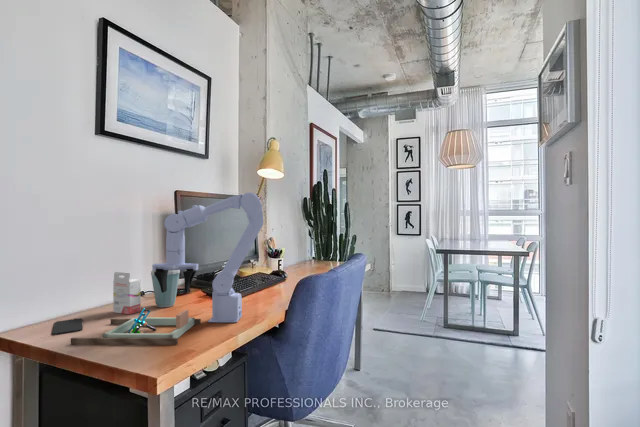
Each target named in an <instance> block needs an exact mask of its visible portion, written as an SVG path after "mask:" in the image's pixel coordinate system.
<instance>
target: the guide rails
mask: <svg viewBox="0 0 640 427" xmlns="http://www.w3.org/2000/svg"><path fill="white" fill-rule="evenodd" d="M131 319H132V318H111V319H110V325H121V324H123V323H125V322H127V321H129V320H131ZM201 321H202V320H201V318H194V325H193V326H195V325H196V326H199V325H202V322H201ZM178 340H179V338H103V337H71V338H70V345H76V346H77V345H79V346H80V345H81V346H82V345H93V346H95V345H99V346H100V345H103V346H105V345H108V346H109V345H110V346H112V345H113V346H114V345H115V346H116V345H117V346H121V345H122V346H129V345H131V346H134V345H135V346H138V345H139V346H144V345H145V346H150V345H151V346H152V345H153V346H163V345H164V346H177V345H178V343H179V341H178Z"/></svg>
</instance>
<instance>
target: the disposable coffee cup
mask: <svg viewBox="0 0 640 427" xmlns="http://www.w3.org/2000/svg"><path fill="white" fill-rule="evenodd" d="M154 272H156V270H152V269H151V271H150V276H151V281H152V289H153V294H154V301H155V305H156V307H157V308H170V307H174V306H175V303H176V300H177V292H178V286H179V280H180V273H181V270H168V274H167V291H166V292H164V293H162V292H161V287H160V284H159V282H158V280H157V278H156V276H155V275H154Z"/></svg>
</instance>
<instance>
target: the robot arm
mask: <svg viewBox="0 0 640 427" xmlns="http://www.w3.org/2000/svg"><path fill="white" fill-rule="evenodd" d="M241 208H242V210H243V211H244V213H246V218H247V220H248V225H247V226H246V228H245V230H244V231H243V232H242V235H241V236H240V239H239V241H238V242H237V244H236V246H235V248H234V250H232V252H231V254H230V257H229V258H228V260H227V262H226V264H225V266H224V267H223V269H222V270H221V271H219V272H218V274H216V276H215V278H214V279H213V280H212V285H211V286H212V299H211V300H212V303H211V304H212V305H211V306H212V307H211V308H212V310H211V311H212V312H211V313H212V315H211V316H212V317H210V319H208V321H207V322H208V323H238V321H239V320H240V319H241V318H242V316H243V312H242V311H243V310H242V309H243V297H242V294H241V293H239V292H236V291H235V289H234V288H233V284H234V280H235V277H236V274H237V273H238V271H239V269H240V267H241V265H242V263H243V262H244V260H245V258H246V256H247V254H248V252H249V250H250V249H251V247H252V245H253V244H254V242H255V240H256V238H257V237H258V235H259V233H260V231H261V229H262V227H263V225H264V214H263V203H262V201H261V200H260V198H259V196H258V195H257V193H254V192H252V191H251V192H246V193H244V194H237V195H233V196H230V197H227V198H225V199H223V200H220V201H218V202H215V203H212V204H210V205H207V206H204V205H200V204H198V205H197V204H194V205H191V208H188V209H186V210H178V211H177V213H178V214H176V213H171V214H170V215H168V216H167V217H166V218H165V220H164V222H163V223H164V224H163V225H164V228H165V229H166V236H165V240H166V241H165V244H166V245H165V252H166V253H165V257H166V258H165V263H164V262H162V263H153V264H152V269H151V271H152V270H156V272H154V275H155V276H156V278H157V280H158V282H159V284H160V287H161V292H162V293H164V292H166V291H167V274H168V270H180V271H183V272H182V273H183V278H184V279H183V280H184V293H185V294H186V293H189V292H190V289H191V285H192V282H193V279H194V276H195V275H196V273H197V271H198V270H199V263H189V262H188V263H187V262H186V236H185V229H186V228H192V227H194V226H197V225H199V224H202V223H205V222H207V221H208V219H209V216H212V215H215V214H218V213H221V212H224V211H227V210H229V209H236V210H238V209H239V210H240V209H241Z"/></svg>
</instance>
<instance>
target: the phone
mask: <svg viewBox="0 0 640 427" xmlns="http://www.w3.org/2000/svg"><path fill="white" fill-rule="evenodd" d="M83 328H84V326H83V318H82V317H80V318H79V317H78V318H71V319H64V320H57V321H55V322H54V325H53V329H52V335H53V336H58V335H59V336H60V335H66V334H72V333H73V334H74V333H78V332H81V331H83Z"/></svg>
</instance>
